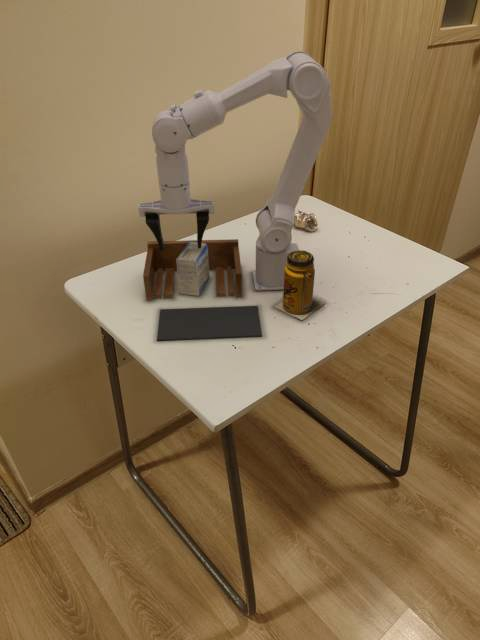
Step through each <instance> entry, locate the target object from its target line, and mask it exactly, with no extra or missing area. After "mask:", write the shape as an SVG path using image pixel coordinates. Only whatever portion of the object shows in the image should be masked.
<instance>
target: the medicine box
mask: <svg viewBox="0 0 480 640" xmlns="http://www.w3.org/2000/svg"><path fill="white" fill-rule="evenodd" d="M176 263H177V271H176V272H177V279H178V280H177V281H178V287H179V293H180V294H181V295H187V296H195V297H200V295H201V294H202V292H203V290H204V289H205V286H206V285H207V284H208V282H209V279H210V277H211V276H210V270H209V260H208V245H207V244H205V243H201V248H198V243H197V242H188V244H187V245H186V247H185V248H184V249H183V251H182V252H181V254H180V255H179V256H178V258H177V259H176Z"/></svg>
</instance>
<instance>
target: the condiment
mask: <svg viewBox="0 0 480 640" xmlns="http://www.w3.org/2000/svg"><path fill="white" fill-rule="evenodd" d="M314 262H315V256H314V255H313V254H312V253H311V252H309V251H306V250H300V249H299V250H298V251H293V252H291V253H289V254H288V256H287V266H286V267H285V273H284V290H283V293H282V294H283V295H282V297H283V298H282V301H280V302H279V303H278V304H276V305H274V308H276V309H278V310H280V311H281V312H283V313H285V314H287V315H289V316H292V317H293V318H296V319H298V320H300V321H303V320H304V319H306V318H308V317H309V316H311V315H312V314H313V313H314V312H316V311H317V310H318V309H320V308H321V307H322V306H324V305H325V304H326V303H327V302H326V301H323V300H320V299H318V298H316V297H314V287H315V276H316V268H315V263H314Z"/></svg>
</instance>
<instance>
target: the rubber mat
mask: <svg viewBox="0 0 480 640" xmlns="http://www.w3.org/2000/svg"><path fill="white" fill-rule="evenodd" d="M261 325H262V324H261V318H260V312H259V306H258V305H241V306H240V305H239V306H215V307H213V306H212V307H211V306H210V307H189V308H161V309H159V317H158V327H157V335H156V341H157V342H170V341H171V342H172V341H191V340H192V341H193V340H215V339H216V340H217V339H218V340H219V339H239V338H240V339H241V338H262V337H263V332H262V326H261Z"/></svg>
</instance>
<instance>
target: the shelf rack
mask: <svg viewBox="0 0 480 640" xmlns="http://www.w3.org/2000/svg"><path fill="white" fill-rule="evenodd" d="M188 242H197V239H195V240H190V239H189V240H163V244H164V249H163V250H160V248H159V244H158V242H157V240H153V241H149V240H148V241H147V242H146V246H147V250H146V257H145V262H144V263H145V264H144V268H143V273H142V274H143V275H142V278H143V284H144V285H143V286H144V292H145V296H146V301H147V302H152V301H154V299H157V300H158V299H159V300H160V299H161V297H162V289H163V299H173V298H174V297H173V296H174V286H175V285H174V283H175V273H176V272H177V263H176V259H177V258H178V256H179V255H180V254H181V252H182V251H183V249H184V248H185V247H186V245H187V244H188ZM202 243H205V244H207V245H208V260H209V271H215V279H216V297H226V282H225V270H226V276H227V277H226V279H227V289H228V290H227V291H228V297H234V296H235V295H236V297H235V298H237V299H238V298H243V271H242V263H241V253H240V246H239V239H238V238H237V239H235V238H233V239H202ZM164 272H165V277H164ZM163 278H164V280H163ZM163 281H164V286H163Z"/></svg>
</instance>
